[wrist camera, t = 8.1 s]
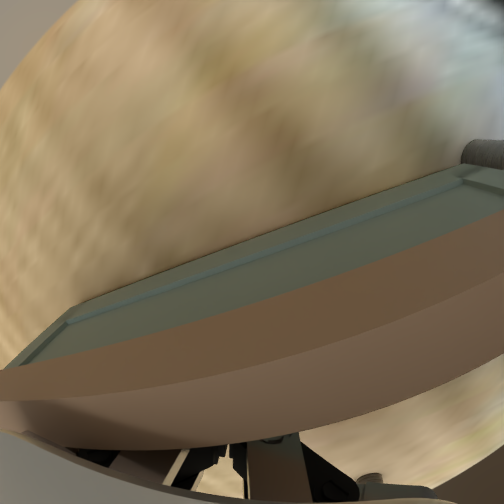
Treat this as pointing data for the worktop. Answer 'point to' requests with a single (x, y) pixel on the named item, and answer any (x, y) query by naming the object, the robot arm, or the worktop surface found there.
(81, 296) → the worktop surface
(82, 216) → the worktop surface
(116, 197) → the worktop surface
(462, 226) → the gate
